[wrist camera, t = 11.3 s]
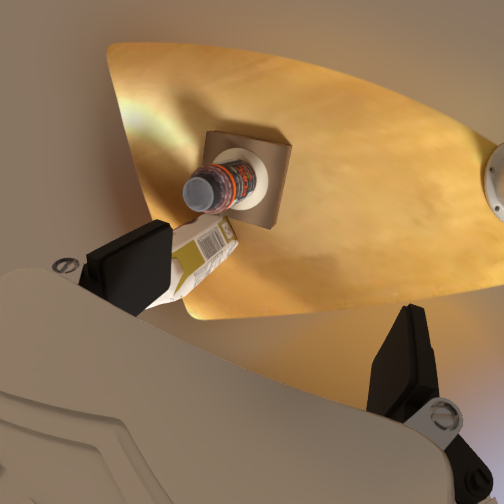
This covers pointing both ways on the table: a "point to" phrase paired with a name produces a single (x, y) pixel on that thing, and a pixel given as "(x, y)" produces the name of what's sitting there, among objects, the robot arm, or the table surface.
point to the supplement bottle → (219, 186)
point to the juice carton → (197, 253)
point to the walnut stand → (265, 166)
